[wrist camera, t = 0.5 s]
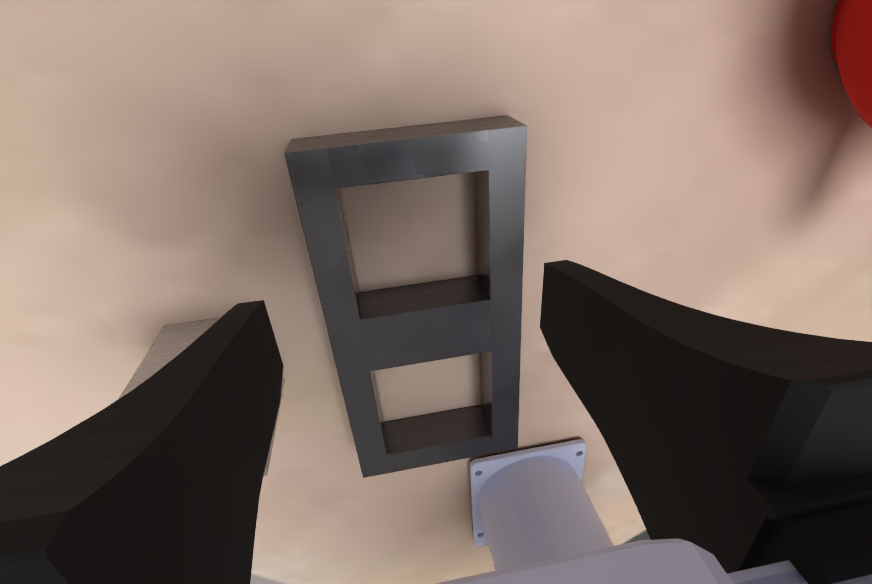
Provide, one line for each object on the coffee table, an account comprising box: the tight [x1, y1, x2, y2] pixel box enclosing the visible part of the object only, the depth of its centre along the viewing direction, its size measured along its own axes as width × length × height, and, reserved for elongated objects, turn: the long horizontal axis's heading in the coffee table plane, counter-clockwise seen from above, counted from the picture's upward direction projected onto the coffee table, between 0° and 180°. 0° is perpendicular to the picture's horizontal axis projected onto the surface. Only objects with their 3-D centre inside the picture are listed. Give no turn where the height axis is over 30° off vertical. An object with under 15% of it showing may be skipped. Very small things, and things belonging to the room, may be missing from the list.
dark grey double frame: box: [285, 116, 527, 478], centre depth 22 cm, size 18×9×2 cm, turn 4°
